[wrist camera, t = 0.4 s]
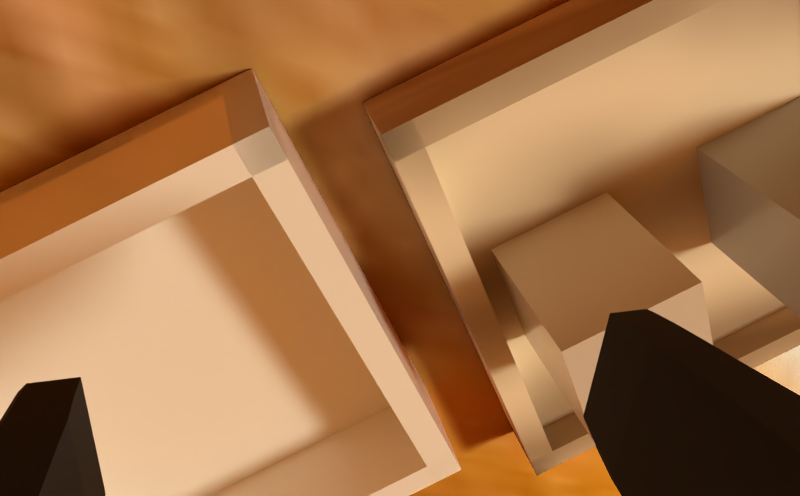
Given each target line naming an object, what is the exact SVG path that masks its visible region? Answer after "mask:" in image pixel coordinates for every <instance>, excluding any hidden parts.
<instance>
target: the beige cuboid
mask: <svg viewBox="0 0 800 496" xmlns="http://www.w3.org/2000/svg"><path fill="white" fill-rule="evenodd" d="M491 251H492V253H493V256H494V259H495V261H496V264H497V266H498V269H499V271H500V274H501V276H502V279H503V281H504V284H505V286H506V289H507V291H508V294H509V297H510V299H511V302H512V304H513V307H514V309H515V312H516V314H517V317H518V319H519V322H520V324H521V327H522V329H523V332H524V335H525V336H526V338H527V339H528V341H529V342H530V344H531V346H532V347H533V349H534V350H535V352H536V353H537V355H538V356H539V358H540V359H541V361H542V363H543V364H544V366H545V367H546V369H547V370H548V372H549V373H550V375H551V377H552V378H553V380H554V381H555V383H556V384H557V386H558V387H559V389H560V390H561V392H562V394H563V395H564V397H565V398H566V400H567V401H568V403H569V404H570V406H571V407H572V409H573V411H574V412H575V414H576V415H577V417H578V418H579V420H580V421H581V423H582V424H583V426H584V428H585V429H586V431H587V432H588V434H589V435H590V437H591V438H592V436H591V434H590V431H589V429H588V427H587V424H586V422H585V420H584V417H583V415H584V411H585V407H586V404H587V400H588V396H589V392H590V388H591V384H592V380H593V377H594V373H595V369H596V365H597V361H598V357H599V353H600V349H601V346H602V342H603V338H604V334H605V330H606V326H607V322H608V319H609V315H610V313H616V312H624V311H632V310H641V309H648V310H650V311H652V312H654V313H656V314H658V315H660V316H662V317H664V318H666V319H668V320H670V321H672V322H673V323H675V324H677V325H679V326H681V327H682V328H684V329H686V330H688V331H689V332H691V333H693V334H695V335H696V336H698V337H700V338H702V339H703V340H705V341H707V342H708V343H710V344H712V345H713V341H712V336H711V330H710V324H709V318H708V312H707V307H706V301H705V295H704V289H703V284H702V281H701V280H700V279H698V278H697V277H696V276H695V275H694V274H693V273H692V272H691V271H690V270H689V269H688V268H687V267H686V266H685V265H684V264H683V263H681V262H680V261H679V260H678V259H677V258H676V257H675V256H674V255H673V254H672V253H671V252H670V251H669V250H668V249H667V248H665V247H664V246H663V245H662V244H661V243H660V242H659V241H658V240H657V239H656V238H655V237H654V236H653V235H652V234H651V233H650V232H648V231H647V230H646V229H645V228H644V227H643V226H642V225H641V224H640V223H639V222H638V221H637V220H636V219H635V218H634V217H632V216H631V215H630V214H629V213H628V212H627V211H626V210H625V209H624V208H623V207H622V206H621V205H620V204H619V203H618V202H617V201H615V200H614V199H613V198H612V197H611V196H610V195H609V194H608V193H607V192H606V193H604V194H602V195H600V196H598V197H596V198H594V199H592V200H590V201H588V202H586V203H584V204H582V205H580V206H578V207H576V208H574V209H572V210H570V211H568V212H566V213H563V214H561V215H559V216H557V217H555V218H553V219H551V220H549V221H547V222H545V223H543V224H541V225H539V226H537V227H535V228H533V229H531V230H529V231H527V232H525V233H523V234H521V235H519V236H517V237H515V238H513V239H511V240H509V241H507V242H505V243H503V244H501V245H499V246H497V247H495V248H493V249H491ZM592 440H593V438H592ZM593 442H594V440H593Z"/></svg>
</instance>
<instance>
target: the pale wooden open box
mask: <svg viewBox="0 0 800 496" xmlns="http://www.w3.org/2000/svg"><path fill="white" fill-rule="evenodd" d="M75 377H81V381H82V385H83V390H84V395H85V399H86V404H87V409H88V413H89V418H90V423H91V427H92V432H93V437H94V441H95V446H96V451H97V455H98V460H99V465H100V469H101V474H102V479H103V483H104V488H105V496H409V495H411V494H413V493H415V492H417V491H419V490H421V489H423V488H425V487H427V486H429V485H431V484H433V483H435V482H438V481H440V480H442V479H444V478H446V477H448V476H450V475H452V474H454V473H456V472H458V471H460V470H461V468H460V465H459V463H458V461H457V458H456V456H455V454H454V451H453V449H452V447H451V444H450V442H449V440H448V437H447V435H446V433H445V430H444V428H443V426H442V423H441V421H440V419H439V416H438V414H437V412H436V409H435V407H434V405H433V402H432V400H431V398H430V395H429V393H428V391H427V388H426V387H425V385H424V383H423V381H422V379H421V377H420V376H419V374H418V372H417V370H416V368H415V366H414V365H413V363H412V361H411V359H410V357H409V355H408V354H407V352H406V350H405V348H404V346H403V344H402V343H401V341H400V339H399V337H398V335H397V333H396V332H395V330H394V328H393V326H392V324H391V322H390V321H389V319H388V317H387V315H386V313H385V311H384V310H383V308H382V306H381V304H380V302H379V300H378V299H377V297H376V295H375V293H374V291H373V289H372V288H371V286H370V284H369V282H368V280H367V278H366V277H365V275H364V273H363V271H362V269H361V267H360V266H359V264H358V262H357V260H356V258H355V256H354V255H353V253H352V251H351V249H350V247H349V245H348V244H347V242H346V240H345V238H344V236H343V234H342V233H341V231H340V229H339V227H338V225H337V223H336V222H335V220H334V218H333V216H332V214H331V212H330V211H329V209H328V207H327V205H326V203H325V201H324V200H323V198H322V196H321V194H320V192H319V190H318V189H317V187H316V185H315V183H314V181H313V179H312V178H311V176H310V174H309V172H308V170H307V168H306V167H305V165H304V163H303V161H302V159H301V157H300V156H299V154H298V152H297V150H296V148H295V146H294V145H293V143H292V141H291V139H290V137H289V136H288V134H287V132H286V130H285V128H284V126H283V125H282V123H281V121H280V119H279V117H278V115H277V114H276V112H275V110H274V108H273V106H272V104H271V103H270V101H269V99H268V97H267V95H266V93H265V92H264V90H263V88H262V86H261V84H260V82H259V81H258V79H257V77H256V75H255V73H254V71H253V70H252V69H250V70H247V71H245V72H243V73H241V74H239V75H237V76H235V77H233V78H231V79H229V80H227V81H225V82H223V83H221V84H219V85H217V86H215V87H213V88H211V89H209V90H207V91H205V92H203V93H201V94H199V95H197V96H195V97H193V98H191V99H189V100H187V101H185V102H183V103H181V104H179V105H177V106H175V107H173V108H171V109H168V110H166V111H164V112H162V113H160V114H158V115H156V116H154V117H152V118H150V119H148V120H146V121H144V122H142V123H140V124H138V125H136V126H134V127H132V128H130V129H128V130H126V131H124V132H122V133H120V134H118V135H116V136H114V137H112V138H110V139H108V140H106V141H104V142H102V143H100V144H98V145H96V146H94V147H92V148H89V149H87V150H85V151H83V152H81V153H79V154H77V155H75V156H73V157H71V158H69V159H67V160H65V161H63V162H61V163H59V164H57V165H55V166H53V167H51V168H49V169H47V170H45V171H43V172H41V173H39V174H37V175H35V176H33V177H31V178H29V179H27V180H25V181H23V182H21V183H19V184H17V185H15V186H13V187H10V188H8V189H6V190H4V191H2V192H0V420H1V418H2V417H3V415H4V413H5V412H6V410H7V409H8V407H9V405H10V404H11V402H12V401H13V399H14V397H15V396H16V394H17V392H18V391H19V390H20V389H21V388H22V387H23V386H24V385H25V384H26V383H34V382H42V381H51V380H59V379H67V378H75Z"/></svg>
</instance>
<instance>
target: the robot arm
mask: <svg viewBox="0 0 800 496" xmlns="http://www.w3.org/2000/svg"><path fill="white" fill-rule="evenodd" d="M583 417H584V420H585V422H586V424H587V427H588V429H589V431H590V434H591V436H592V438H593V440H594V443H595V445H596V447H597V450H598V452H599V454H600V456H601V458H602V460H603V462H604V464H605V466H606V468H607V471H608V473H609V475H610V477H611V479H612V480H613V482H614V484H615V485H616V487H617V489H618V490H619V492H620V494H621V495H622V496H800V395H798V394H796V393H794V392H793V391H791V390H789V389H787V388H785V387H784V386H782V385H780V384H779V383H777V382H775V381H773V380H772V379H770V378H768V377H766V376H765V375H763V374H761V373H760V372H758V371H756V370H754V369H753V368H751V367H749V366H748V365H746V364H744V363H742V362H741V361H739V360H737V359H736V358H734V357H732V356H731V355H729V354H727V353H725V352H724V351H722V350H720V349H719V348H717V347H715V346H714V345H712V344H710V343H708V342H707V341H705V340H703V339H702V338H700V337H698V336H696V335H695V334H693V333H691V332H689V331H688V330H686V329H684V328H682V327H681V326H679V325H677V324H675V323H673V322H672V321H670V320H668V319H666V318H664V317H662V316H660V315H658V314H656V313H654V312H652V311H650V310H648V309H641V310H632V311H624V312H616V313H610V315H609V319H608V322H607V326H606V330H605V334H604V338H603V342H602V346H601V349H600V353H599V357H598V361H597V365H596V369H595V373H594V377H593V380H592V384H591V388H590V392H589V396H588V400H587V404H586V407H585V411H584V415H583ZM0 496H105V488H104V483H103V479H102V474H101V469H100V465H99V460H98V455H97V451H96V446H95V441H94V437H93V432H92V427H91V423H90V418H89V413H88V409H87V404H86V399H85V395H84V390H83V385H82V381H81V377H75V378H67V379H59V380H51V381H42V382H34V383H26V384H25V385H24V386H23V387H22V388H21V389H20V390H19V391H18V392H17V394H16V396H15V397H14V399H13V401H12V402H11V404H10V405H9V407H8V409H7V410H6V412H5V413H4V415H3V417H2V418H1V420H0Z"/></svg>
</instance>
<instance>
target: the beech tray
mask: <svg viewBox="0 0 800 496" xmlns="http://www.w3.org/2000/svg"><path fill="white" fill-rule="evenodd" d="M798 97H800V0H569V1H567V2H565V3H563V4H561V5H559V6H557V7H555V8H553V9H551V10H549V11H547V12H545V13H543V14H541V15H539V16H537V17H535V18H533V19H531V20H529V21H527V22H525V23H523V24H521V25H519V26H517V27H515V28H513V29H511V30H509V31H506V32H504V33H502V34H500V35H498V36H496V37H494V38H492V39H490V40H488V41H486V42H484V43H482V44H480V45H478V46H476V47H474V48H472V49H470V50H468V51H466V52H464V53H462V54H460V55H458V56H456V57H454V58H452V59H450V60H448V61H446V62H444V63H442V64H440V65H438V66H436V67H434V68H432V69H430V70H428V71H426V72H424V73H421V74H419V75H417V76H415V77H413V78H411V79H409V80H407V81H405V82H403V83H401V84H399V85H397V86H395V87H393V88H391V89H389V90H387V91H385V92H383V93H381V94H379V95H377V96H375V97H373V98H371V99H369V100H367V101H365V102H363V106H364V108H365V110H366V112H367V114H368V116H369V119H370V121H371V123H372V125H373V127H374V130H375V132H376V134H377V136H378V138H379V140H380V143H381V145H382V147H383V149H384V151H385V153H386V156H387V158H388V160H389V162H390V164H391V166H392V169H393V171H394V173H395V175H396V177H397V179H398V182H399V184H400V186H401V188H402V190H403V192H404V195H405V197H406V199H407V201H408V203H409V205H410V208H411V210H412V212H413V214H414V216H415V219H416V221H417V223H418V225H419V227H420V229H421V232H422V234H423V236H424V238H425V240H426V242H427V245H428V247H429V249H430V251H431V253H432V255H433V258H434V260H435V262H436V264H437V266H438V268H439V271H440V273H441V275H442V277H443V279H444V281H445V284H446V286H447V288H448V290H449V292H450V294H451V297H452V299H453V301H454V303H455V305H456V307H457V310H458V312H459V314H460V316H461V318H462V321H463V323H464V325H465V327H466V329H467V331H468V334H469V336H470V338H471V340H472V342H473V344H474V347H475V349H476V351H477V353H478V355H479V357H480V360H481V362H482V364H483V366H484V368H485V370H486V373H487V375H488V377H489V379H490V381H491V383H492V386H493V388H494V390H495V392H496V394H497V396H498V399H499V401H500V403H501V405H502V407H503V410H504V412H505V414H506V416H507V418H508V420H509V423H510V425H511V427H512V429H513V431H514V433H515V435H516V437H517V439H518V441H519V443H520V445H521V446H522V448H523V450H524V452H525V454H526V456H527V458H528V459H529V461H530V463H531V465H532V467H533V469H534V471H535V473H536V474H537V475H539V474H541V473H543V472H545V471H547V470H549V469H551V468H553V467H555V466H557V465H559V464H561V463H563V462H565V461H567V460H569V459H571V458H573V457H575V456H577V455H579V454H581V453H583V452H585V451H587V450H589V449H591V448H593V447H595V446H596V445H595V443H594V442H593V440H592V438H591V437H590V435H589V434H588V432H587V431H586V429H585V428H584V426H583V424H582V423H581V421H580V420H579V418H578V417H577V415H576V414H575V412H574V411H573V409H572V407H571V406H570V404H569V403H568V401H567V400H566V398H565V397H564V395H563V394H562V392H561V390H560V389H559V387H558V386H557V384H556V383H555V381H554V380H553V378H552V377H551V375H550V373H549V372H548V370H547V369H546V367H545V366H544V364H543V363H542V361H541V359H540V358H539V356H538V355H537V353H536V352H535V350H534V349H533V347H532V346H531V344H530V342H529V341H528V339H527V338H526V336H525V335H524V332H523V329H522V327H521V324H520V322H519V319H518V317H517V314H516V312H515V309H514V307H513V304H512V302H511V299H510V297H509V294H508V291H507V289H506V286H505V284H504V281H503V279H502V276H501V274H500V271H499V269H498V266H497V264H496V261H495V259H494V256H493V253H492V251H491V249H493V248H495V247H497V246H499V245H501V244H503V243H505V242H507V241H509V240H511V239H513V238H515V237H517V236H519V235H521V234H523V233H525V232H527V231H529V230H531V229H533V228H535V227H537V226H539V225H541V224H543V223H545V222H547V221H549V220H551V219H553V218H555V217H557V216H559V215H561V214H563V213H566V212H568V211H570V210H572V209H574V208H576V207H578V206H580V205H582V204H584V203H586V202H588V201H590V200H592V199H594V198H596V197H598V196H600V195H602V194H604V193H606V192H607V193H608V194H609V195H610V196H611V197H612V198H613V199H614V200H615V201H617V202H618V203H619V204H620V205H621V206H622V207H623V208H624V209H625V210H626V211H627V212H628V213H629V214H630V215H631V216H632V217H634V218H635V219H636V220H637V221H638V222H639V223H640V224H641V225H642V226H643V227H644V228H645V229H646V230H647V231H648V232H650V233H651V234H652V235H653V236H654V237H655V238H656V239H657V240H658V241H659V242H660V243H661V244H662V245H663V246H664V247H665V248H667V249H668V250H669V251H670V252H671V253H672V254H673V255H674V256H675V257H676V258H677V259H678V260H679V261H680V262H681V263H683V264H684V265H685V266H686V267H687V268H688V269H689V270H690V271H691V272H692V273H693V274H694V275H695V276H696V277H697V278H698V279H700V280H701V281H702V284H703V289H704V295H705V301H706V307H707V312H708V318H709V324H710V330H711V336H712V341H713V345H714V346H715V347H717V348H719V349H720V350H722V351H724V352H725V353H727V354H729V355H731V356H732V357H734V358H736V359H737V360H739V361H741V362H742V363H744V364H746V365H748V366H749V367H751V368H754V367H756V366H758V365H760V364H762V363H764V362H766V361H768V360H770V359H772V358H774V357H776V356H778V355H780V354H782V353H784V352H786V351H788V350H790V349H792V348H795V347H797V346H799V345H800V318H799V317H798V316H797V315H796V314H795V313H793V312H792V311H791V310H790V309H789V308H788V307H786V306H785V305H784V304H783V303H782V302H781V301H779V300H778V299H777V298H776V297H775V296H774V295H772V294H771V293H770V292H769V291H768V290H766V289H765V288H764V287H763V286H762V285H761V284H759V283H758V282H757V281H756V280H755V279H754V278H752V277H751V276H750V275H749V274H748V273H747V272H745V271H744V270H743V269H742V268H741V267H739V266H738V265H737V264H736V263H735V262H734V261H732V260H731V259H730V258H729V257H728V256H727V255H725V254H724V253H723V252H722V251H721V250H720V249H718V248H717V247H716V246H715V245H714V244H712V243H711V237H710V231H709V225H708V218H707V212H706V205H705V199H704V193H703V186H702V180H701V174H700V167H699V161H698V154H697V147H699V146H701V145H703V144H705V143H707V142H709V141H711V140H713V139H715V138H717V137H719V136H721V135H723V134H725V133H727V132H729V131H731V130H733V129H735V128H737V127H739V126H741V125H743V124H745V123H747V122H749V121H751V120H753V119H755V118H757V117H759V116H761V115H763V114H765V113H767V112H769V111H771V110H773V109H775V108H778V107H780V106H782V105H784V104H786V103H788V102H790V101H792V100H794V99H796V98H798Z"/></svg>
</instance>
